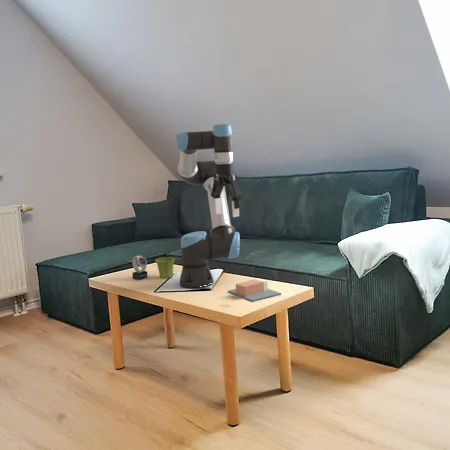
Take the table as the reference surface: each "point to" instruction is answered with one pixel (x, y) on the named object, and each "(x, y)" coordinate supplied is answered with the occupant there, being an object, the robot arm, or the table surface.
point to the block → (251, 287)
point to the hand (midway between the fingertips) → (227, 215)
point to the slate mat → (257, 295)
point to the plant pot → (165, 267)
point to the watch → (139, 273)
